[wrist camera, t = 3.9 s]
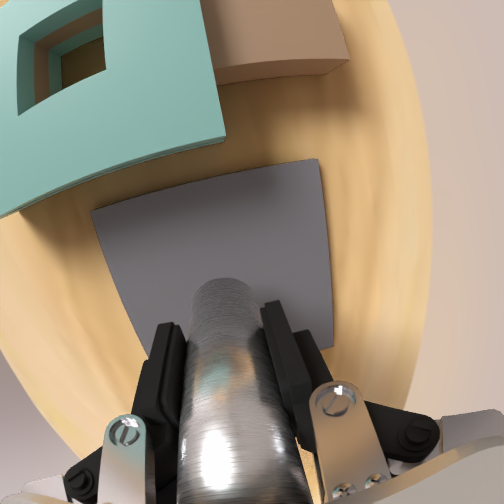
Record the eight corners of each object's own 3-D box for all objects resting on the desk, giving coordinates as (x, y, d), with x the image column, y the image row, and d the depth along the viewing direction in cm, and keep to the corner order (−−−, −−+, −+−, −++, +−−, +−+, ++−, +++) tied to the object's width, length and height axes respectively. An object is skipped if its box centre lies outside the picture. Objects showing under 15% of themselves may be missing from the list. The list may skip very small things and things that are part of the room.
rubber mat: (313, 158, 14) (317, 158, 13) (330, 341, 18) (333, 346, 17) (94, 209, 13) (90, 211, 12) (162, 375, 17) (161, 381, 17)
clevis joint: (289, -40, 9) (309, -80, 5) (336, 126, 13) (381, 118, 9) (-14, 66, 8) (-52, 58, 4) (1, 220, 12) (-42, 241, 8)
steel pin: (226, 264, 12) (260, 535, 2) (271, 307, 13) (345, 527, 3) (177, 305, 12) (149, 541, 3) (223, 343, 13) (244, 551, 4)
